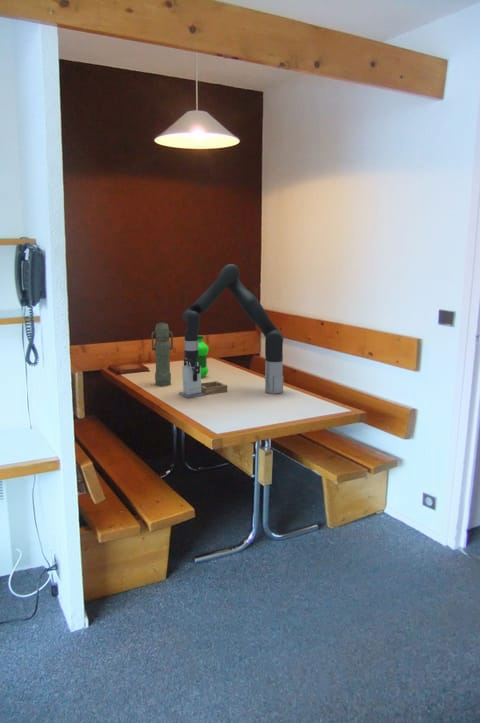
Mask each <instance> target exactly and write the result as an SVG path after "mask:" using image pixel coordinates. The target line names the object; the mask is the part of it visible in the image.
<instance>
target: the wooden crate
mask: <svg viewBox="0 0 480 723" xmlns="http://www.w3.org/2000/svg"><path fill="white" fill-rule="evenodd" d="M201 392H202V393H204V394H205V396H206V395H213V394H218V393H219V394H220V393H228V385H227V384H225V383H223V382H220V381H218V380H216V381H215V380H213V381H207V382H206V381H205V382H201Z"/></svg>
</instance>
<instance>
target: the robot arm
mask: <svg viewBox="0 0 480 723" xmlns="http://www.w3.org/2000/svg"><path fill="white" fill-rule="evenodd" d="M239 276H240V269H239V267H238V266H237V265H236V264H232V263H229V264H226V265H225V266H224V267H223V268H222V269H221V270H220V272H219V276H217V277H218V278H216V280H215V281H214V282H213V283H212V284H211V285H210V286H209V287H208V288H207V289H206V290H205V291H204V292H203V293H202V295H201V296H200V297H199V298H198V299H197V300H196V301H195V302H194V303H193V304H191V305H190V306H189V307H187V309H186V310H185V311H184V312H183V313H182V317H181V318H182V321H183V322H184V323H185V324H187V326H186V329H185V330H184V343H183V344H184V345H183V350H184V351H183V352H184V353H183V356H184V358H183V366H188V365H189V366H190V367H195V368H192V370H193V381H197V374H199V373H200V362H197V360H196V359H197V358H198V357H199V343H198V335H199V328H200V325H201V324H200V323H201V316H200V314H202V313H205V312H206V311H208V309H209V308H210V307H211V306H212V305H213V304H214V302H215V301H216V300H217V298H219V296H220V295H221V294H222V293H223V291H224V290H225V289H226V288H227V289H228V290H230V292H231V293H232V294H233V296H234V298H235V299H236V301H237V303H238V304H239V305H240V307H241V308H242V310H243V311H244V313H245V314H246V315H247V317H248V318H249V319H250V321H252V322H253V323H254V324H255V325H256V326H257V327H258V328H259V329H260V331H261V332H262V334H263V336H264V338H265V340H264V341H265V342H264V343H265V344H264V346H265V347H264V351H265V352H264V353H265V354H264V356H265V362H264V363H265V366H264V367H265V371H264V372H265V373H264V374H265V376H264V391H265V393H267V394H273V395H276V394H283V392H284V375H283V363H284V362H283V361H284V360H283V359H284V356H283V354H284V353H283V347H284V346H283V343H284V335H283V333H282V332H281V331H280V330H279V329H278V327H276V325H275V323H273V321H272V320H271V319H270V318H269V317H270V316H269V315H268V313H267V312H266V310H265V309H264V307H263V305H262V304H261V302H260V301H259V300H258V299H257V297H256V296H255V295H254V294H253V293H252V292H251V291H250V290H249V289H248V288H246V287H245V285H244V284H243V283H242V282H241V280H240V278H239ZM197 369H198V371H197ZM194 370H195V372H194Z"/></svg>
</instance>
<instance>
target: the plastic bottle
mask: <svg viewBox="0 0 480 723" xmlns="http://www.w3.org/2000/svg"><path fill="white" fill-rule="evenodd" d="M203 340H204V335H201V334H198V343H199V357H198V358H197V359H196V360H197V362H200V366H201V379H202V378H205V377H206V376H207V375H208V373H209V368H208V366H207V363H208V362H207V355H208V354H209V350H210V349H209V348H210V347H209V346H208V345H207V343H205V342H204V341H203Z"/></svg>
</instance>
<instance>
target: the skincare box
mask: <svg viewBox="0 0 480 723" xmlns="http://www.w3.org/2000/svg"><path fill="white" fill-rule="evenodd" d="M192 368H195V367H190V366H189V365H188V366H184V365H183V366H181V370H182V392H183V393H185V394H188V395H191V394H195V393H200V392H201V383H202V378H201V366H200V373H199V374H197V381H193V370H192ZM197 371H198V369H197ZM194 372H195V370H194Z"/></svg>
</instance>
